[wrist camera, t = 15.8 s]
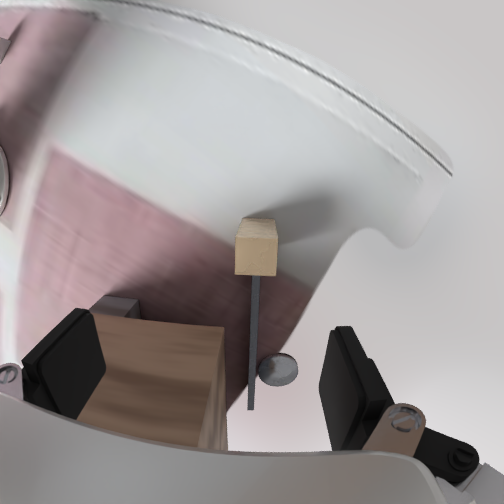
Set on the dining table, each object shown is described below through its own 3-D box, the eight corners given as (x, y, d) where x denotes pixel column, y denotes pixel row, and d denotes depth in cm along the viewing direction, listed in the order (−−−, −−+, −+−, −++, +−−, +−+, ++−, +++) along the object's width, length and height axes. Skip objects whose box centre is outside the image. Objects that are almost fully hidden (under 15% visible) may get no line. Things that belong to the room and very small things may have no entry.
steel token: (258, 352, 35) (258, 357, 34) (298, 352, 35) (299, 356, 34) (258, 381, 36) (258, 386, 35) (295, 381, 36) (296, 386, 35)
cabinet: (103, 295, 33) (-3, 405, 13) (236, 306, 33) (205, 475, 12) (136, 421, 40) (95, 521, 20) (235, 435, 40) (223, 551, 19)
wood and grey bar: (242, 217, 30) (235, 237, 22) (274, 219, 30) (278, 238, 22) (239, 396, 37) (235, 440, 29) (262, 398, 37) (262, 442, 29)
